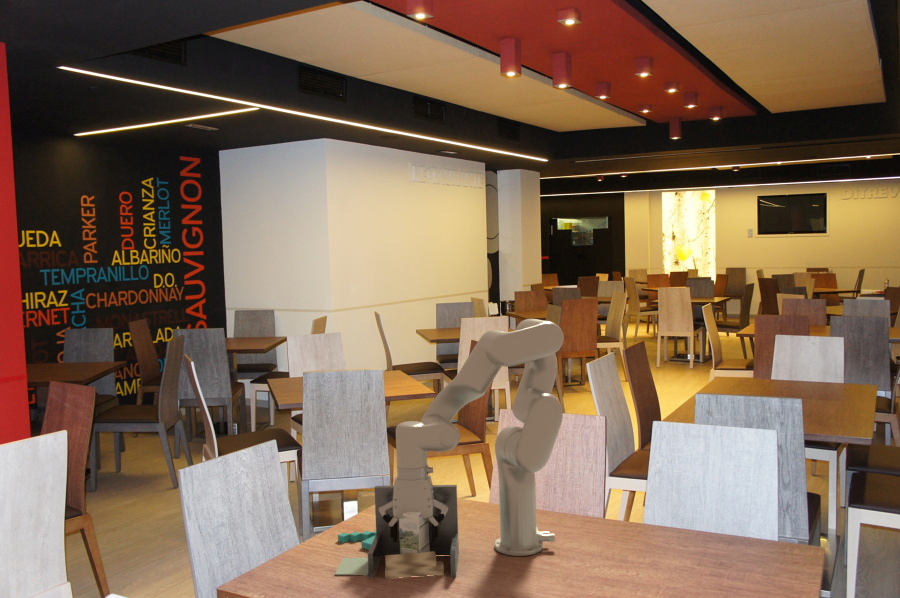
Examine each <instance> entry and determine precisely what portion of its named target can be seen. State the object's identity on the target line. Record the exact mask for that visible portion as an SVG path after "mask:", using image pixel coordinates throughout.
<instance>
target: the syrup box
mask: <svg viewBox="0 0 900 598" xmlns="http://www.w3.org/2000/svg"><path fill="white" fill-rule="evenodd" d="M399 535H400V554H409V553H421V552H430V548H429V519H422V513H421V511H416V512H406V513H403V516H402V518H401V519H399Z"/></svg>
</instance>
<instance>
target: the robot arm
mask: <svg viewBox="0 0 900 598" xmlns="http://www.w3.org/2000/svg"><path fill="white" fill-rule="evenodd" d="M564 335H565V334H564V333H563V330H562V328H561V327H560V326H559V325H558V324H556V323H555V322H552V321H549V320H543V319H536V318H526V319H524V320H522V321H520V322H519V323H518V325H516V329H515V330H513V331H502V330H494V329H493V330H492V329H491V330H488V331H486V332H484V333H482V335H481V337H480V338H479V339H478V341H477V343H476V344H475V345H474V347H473V349H472V350H471V352H470V354H469V355H468V356H467V358H466V360H465V361H464V363H463V365H462V367H461V368H460V370H459V372H457V374H456V375H455V377H453V379H452V380H451V381H450V382H448V384H447V385H446V386H445V387H443V388H442V389H441V391H440V392H439V393H437V395H436V396H435V397H434V398H433V399H432V402H431V403H430V404H429V406H428V407H427V409H426V411H425V412H424V414H423V416H422V418H421V419H420V421H415V420H411V421H410V420H409V421H402V422H400V423H398V424H397V425H396V428H395V445H396V446H395V448H396V476H395V477H394V480H393V481H394V482H393V486H394V488H393V500H391V501H389V502H388V503H386V504H384V505H382V506H380V507H379V512H380V514H381V515H382V517H383V519H384V520H385V521H386V522H387V523H388V524H389V526H390V532H391V538H393V542H396V541H397V538H398V535H397V523H396V521H397V520H398V519H401V518H402V516H403V513H406V512H416V511H421V513H422V519H429V520H430V521H431V522H432V527H431V528H432V541H433V542H435V539H436V537H438V524H439V523H440V522H441V521H442V520H443V519H444V517H445V515H446V513H447V511H448V506H447V505H445V504H443V503H441V502H439V501H437V500H435V499H434V493H433V485H434V484H433V482H432V481H433V480H432V477H431V475H429V474H431V473H432V474H433V473H434V466H432V467H431V466H429V465H428V452H440V453H441V452H448V451H451V450H453V449H455V448H456V447H457V446H458V444H459V443H460V439H461V435H460V431H459V429H458V427H457V426H456V425H455V424H453V423H452V421H453V419H454V418H455V416H456V415H457V414H458V412H459V411H460V410H461V409H462V408H464V407H465V406H466V405H467V404H469V403H471V402H473V401H475V400H478V399H479V398H482V397H483V396H485V394H486V392H487V391H488V390H489V388H490V386H491V384H492V383H493V381H494V379H495V378H496V376H497V375H498V373H499V371H500V370H501V368H502V367H504V368H505V367H506V368H507V367H508V368H509V367H515V366H519V365H520V366H521V365H523V364H524V368H523V373H522V376H521V379H520V382H519V385H518V388H517V390H516V392H515V393H516V394H515V396H514V399H513V403H512V406H511V409H512V415H513V416H514V417H515V419H517V420H518V421H519V422H521V423H523V426H522V427H521V426H516V425H511V426H510V425H509V426H507V427H505V428H503V429H501V431H500V432H499V433H498V434H497V435H496V437H495V443H494V453H495V459H496V464H497V472H498V500H499V501H498V502H499V503H498V504H499V505H498V506H499V509H498V510H499V538H497V539H496V540H495V541H494V548H495V550H496V551H497V552H499V553H500V554H503V555H507V556H513V557H525V556H531V555H532V556H533V555H535V554H537V553H539V552H541V551H542V550H543V549H544V544H543V543H544V542H548V543H549V542H550V543H551V542H552V543H554V542H556V541H555V540H556V539H555V534H554V533H550V531H540V530H539V529H538V526H537V497H536V495H537V494H536V493H537V492H536V489H537V487H536V483H537V482H536V473H537V472H539V471H541V470H542V469H544V468H545V466H546V465H547V463H548V462H549V459H550V458H551V455H552V452H553V450H554V447H555V443H556V440H557V437H558V434H559V431H560V429H561V425H562V421H563V407H562V404H561V402H560V400H559V398H558V397H557V396H556V395H553V394H552V393H553V389H554V386H555V381H556V377H557V374H558V360H557V354H556V353H557V352H558V351H560V349H561V348H562V346H563V345H564V338H565V337H564ZM434 506H435V507H437V508H439V509H441V510H442V511H441V513H440V514H439V515H438V516H436V515H435V514H434V513H433V512H434ZM391 507H393V517H391V516H390V515H389V514H388V513H387V512H386V510H387V509H389V508H391Z"/></svg>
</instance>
